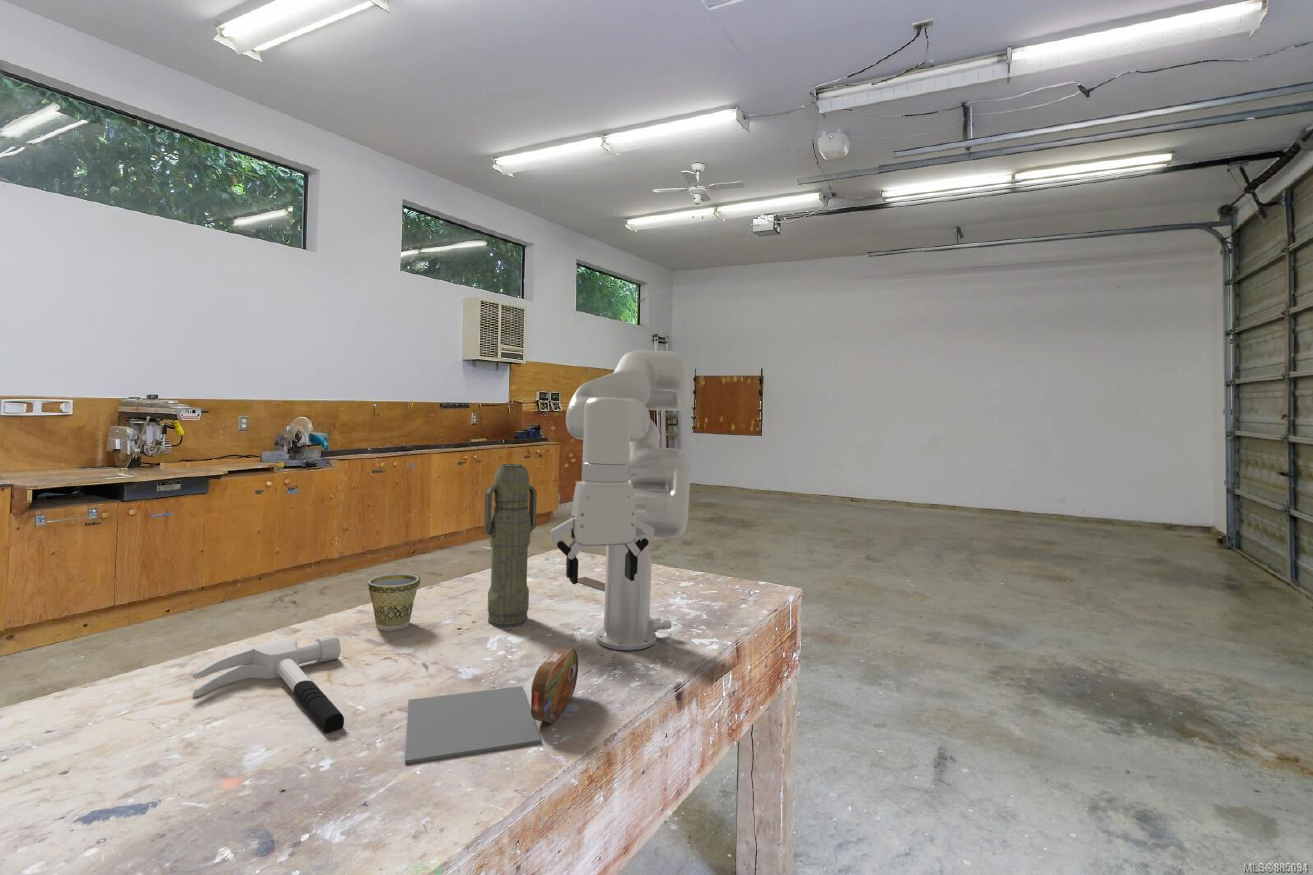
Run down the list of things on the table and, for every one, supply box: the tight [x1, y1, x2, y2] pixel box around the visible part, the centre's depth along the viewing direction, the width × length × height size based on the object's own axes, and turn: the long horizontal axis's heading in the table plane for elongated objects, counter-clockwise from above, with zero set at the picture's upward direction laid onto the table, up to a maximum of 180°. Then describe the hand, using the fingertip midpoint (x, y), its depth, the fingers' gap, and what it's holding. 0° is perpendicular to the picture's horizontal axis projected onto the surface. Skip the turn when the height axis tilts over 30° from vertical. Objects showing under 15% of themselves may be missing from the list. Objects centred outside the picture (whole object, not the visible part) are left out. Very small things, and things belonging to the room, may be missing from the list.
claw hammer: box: [192, 634, 345, 735], centre depth 99 cm, size 6×22×30 cm
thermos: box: [483, 463, 538, 628], centre depth 138 cm, size 9×12×35 cm
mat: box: [404, 685, 542, 765], centre depth 94 cm, size 18×18×1 cm
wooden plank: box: [577, 576, 605, 592], centre depth 169 cm, size 17×1×5 cm
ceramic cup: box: [367, 573, 421, 632], centre depth 134 cm, size 13×10×10 cm
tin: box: [530, 648, 579, 724], centre depth 98 cm, size 15×3×8 cm, turn 168°
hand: (601, 580), depth 100 cm, fingers open, 9 cm apart
